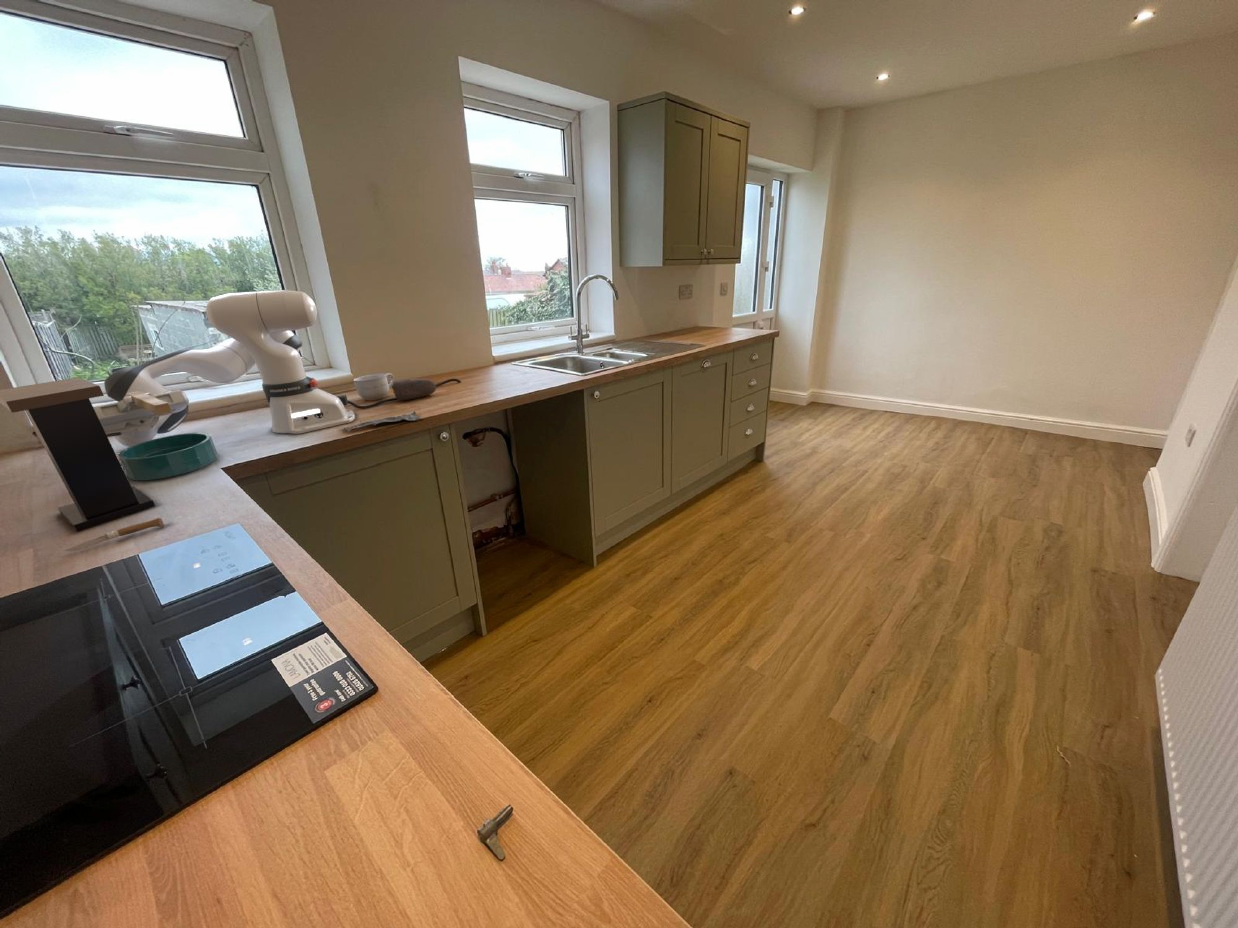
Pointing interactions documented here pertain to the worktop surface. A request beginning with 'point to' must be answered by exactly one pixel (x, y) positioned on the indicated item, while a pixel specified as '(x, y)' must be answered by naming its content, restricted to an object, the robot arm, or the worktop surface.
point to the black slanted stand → (78, 450)
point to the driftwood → (386, 420)
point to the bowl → (168, 456)
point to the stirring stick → (150, 403)
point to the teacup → (373, 386)
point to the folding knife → (118, 534)
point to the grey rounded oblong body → (413, 388)
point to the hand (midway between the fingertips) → (139, 397)
